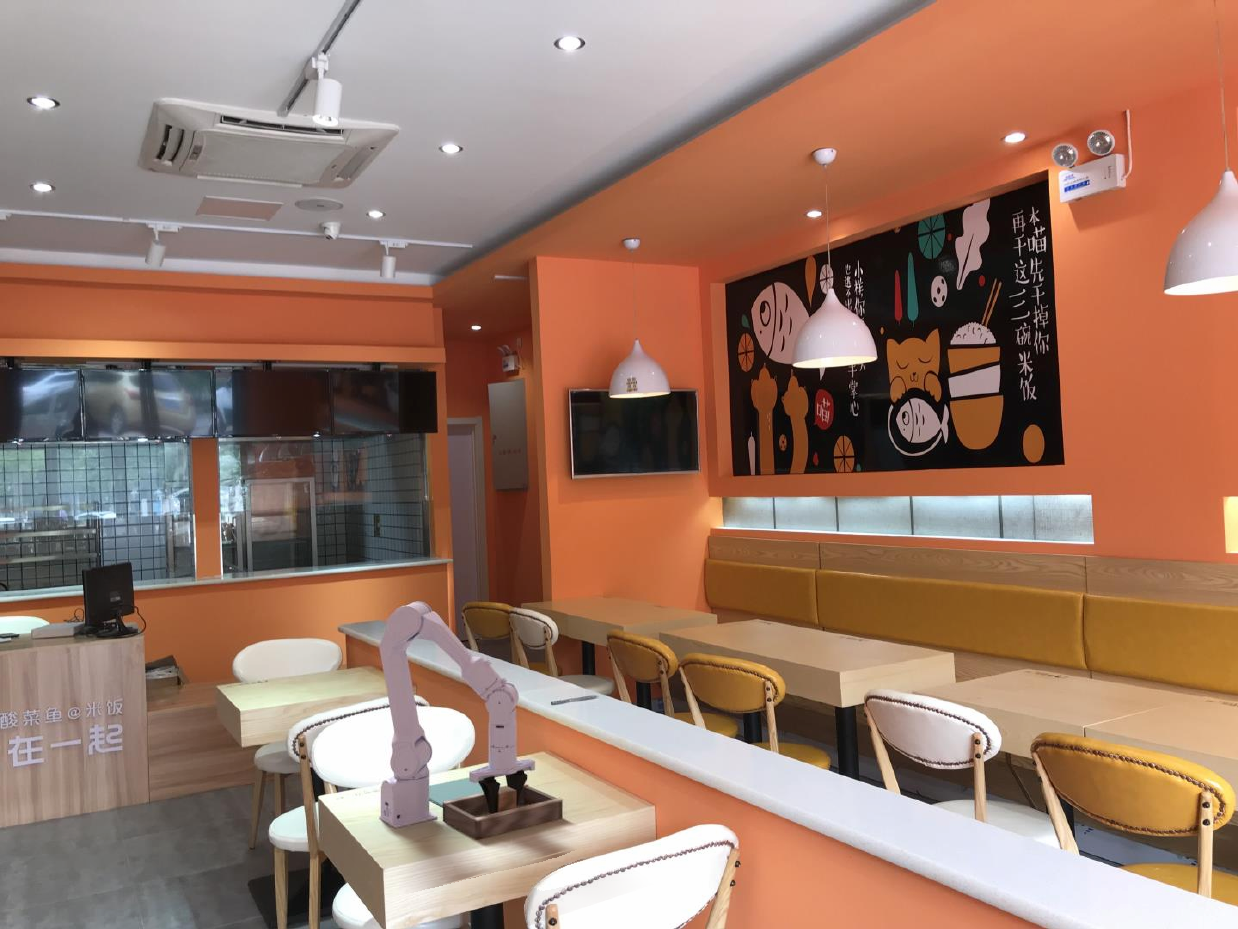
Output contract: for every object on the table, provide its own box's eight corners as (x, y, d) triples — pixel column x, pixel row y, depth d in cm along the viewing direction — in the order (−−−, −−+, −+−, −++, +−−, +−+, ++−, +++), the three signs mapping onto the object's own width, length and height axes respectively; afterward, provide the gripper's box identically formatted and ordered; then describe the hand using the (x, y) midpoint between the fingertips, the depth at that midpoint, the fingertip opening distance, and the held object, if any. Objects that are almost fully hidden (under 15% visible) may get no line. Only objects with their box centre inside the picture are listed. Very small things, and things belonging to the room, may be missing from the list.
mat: (446, 809, 204) (446, 807, 204) (412, 791, 217) (412, 789, 217) (511, 794, 214) (511, 792, 214) (475, 778, 227) (475, 776, 227)
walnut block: (499, 824, 195) (499, 794, 195) (489, 819, 198) (489, 789, 198) (516, 820, 198) (516, 790, 198) (506, 815, 201) (506, 785, 201)
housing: (477, 840, 186) (477, 820, 186) (442, 820, 197) (442, 801, 197) (562, 818, 199) (562, 799, 199) (525, 801, 210) (525, 783, 210)
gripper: (481, 754, 191) (481, 824, 190) (543, 742, 200) (543, 809, 199) (464, 747, 196) (464, 815, 196) (524, 736, 205) (524, 800, 205)
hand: (502, 811), depth 198 cm, fingers closed on walnut block, 4 cm apart
